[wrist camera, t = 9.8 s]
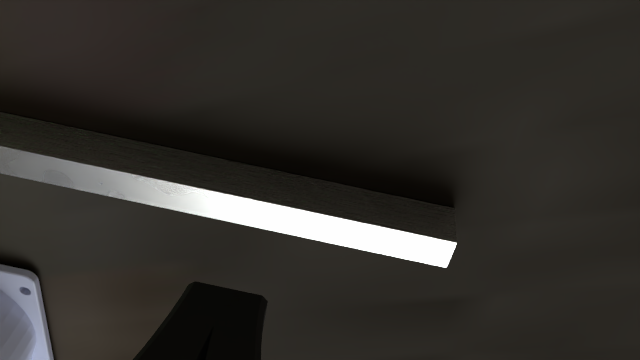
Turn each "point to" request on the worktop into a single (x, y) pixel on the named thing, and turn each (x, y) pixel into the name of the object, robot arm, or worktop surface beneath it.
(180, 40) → the worktop surface
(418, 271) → the worktop surface
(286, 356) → the worktop surface
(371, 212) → the slot rails
